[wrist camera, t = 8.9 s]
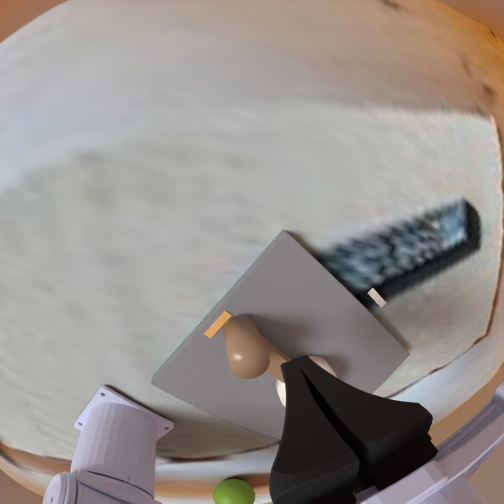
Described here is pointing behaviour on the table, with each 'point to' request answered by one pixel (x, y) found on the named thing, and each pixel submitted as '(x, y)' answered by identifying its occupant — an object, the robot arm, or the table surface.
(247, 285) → the stud board
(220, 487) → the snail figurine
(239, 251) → the table surface
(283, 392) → the brown white rounded rod
